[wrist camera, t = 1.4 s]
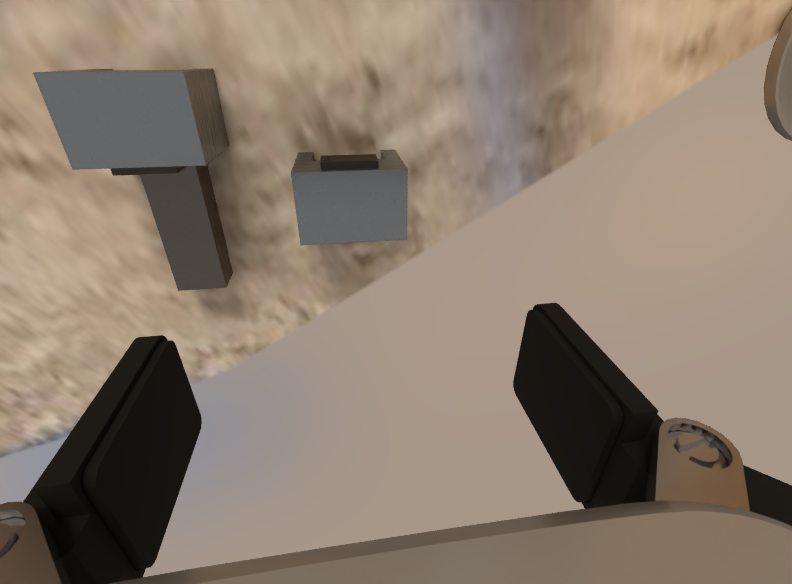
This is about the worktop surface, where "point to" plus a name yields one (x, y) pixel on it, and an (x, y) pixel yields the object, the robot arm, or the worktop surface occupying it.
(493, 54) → the worktop surface
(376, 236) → the grey block
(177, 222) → the rail
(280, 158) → the worktop surface
